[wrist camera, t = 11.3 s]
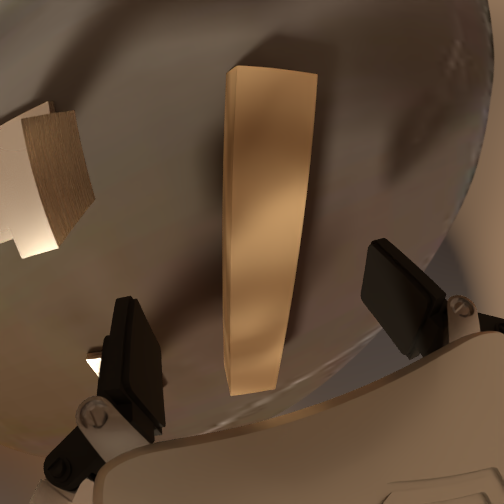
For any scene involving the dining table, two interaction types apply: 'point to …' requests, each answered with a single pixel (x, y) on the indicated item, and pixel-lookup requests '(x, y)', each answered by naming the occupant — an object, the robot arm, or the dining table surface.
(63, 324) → the dining table surface
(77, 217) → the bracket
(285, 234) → the rail
